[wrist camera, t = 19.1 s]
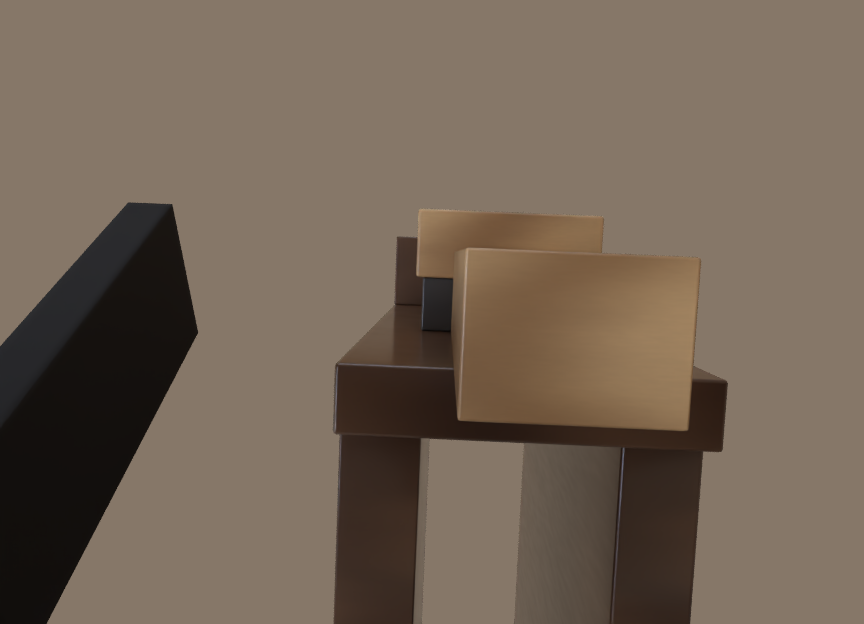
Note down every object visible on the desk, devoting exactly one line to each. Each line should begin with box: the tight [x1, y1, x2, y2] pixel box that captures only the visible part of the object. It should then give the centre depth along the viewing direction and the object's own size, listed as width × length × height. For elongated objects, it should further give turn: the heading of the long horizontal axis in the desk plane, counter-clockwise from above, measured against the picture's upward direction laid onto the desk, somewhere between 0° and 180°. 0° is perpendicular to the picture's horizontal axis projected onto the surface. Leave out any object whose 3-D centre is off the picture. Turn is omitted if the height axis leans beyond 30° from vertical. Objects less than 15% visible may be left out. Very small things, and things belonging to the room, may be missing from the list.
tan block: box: [416, 209, 701, 431], centre depth 19 cm, size 5×20×4 cm, turn 179°
